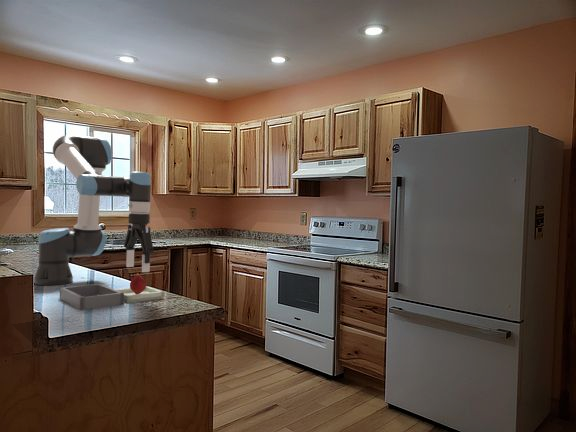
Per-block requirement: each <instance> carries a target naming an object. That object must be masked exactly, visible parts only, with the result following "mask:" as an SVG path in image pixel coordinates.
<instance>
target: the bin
mask: <svg viewBox="0 0 576 432" xmlns="http://www.w3.org/2000/svg"><path fill="white" fill-rule="evenodd" d="M59 299H60V300H61V301H64V302H66V303H67V304H68V305H70V306H72V307H74V308H75V309H78V310H79V311H85V310H92V309H100V308H107V307H114V306H121V304H123V305H124V304H125V302H124V293H123V292H120V291H117V289H115V288H112V287H110V286H107V285H105V284H101V283H92V284H84V285H74V286H63V287H59Z"/></svg>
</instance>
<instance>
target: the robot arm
mask: <svg viewBox="0 0 576 432" xmlns="http://www.w3.org/2000/svg"><path fill="white" fill-rule="evenodd" d="M112 150H113V149H112V147H111V145H110V143H109V141H108V140H107V139H105V138H102V137H97V136H87V135H79V134H65V135H62V136H60V137H59V138H58V139H56V140H55V142H54V144H53V146H52V153H53V157H54V158H55V159H56V161H57V162H58V163H60V164H61V165H64V166H65V167H66V169H67V170H68V171H69V172H70V173H71V175H72V176H73V177H74V178H75V180H76V182H75V183H76V185H75V187H76V191H77V192H78V194H79V195H78V208H77V209H78V211H77V223H76V224H74V225H73V229H72V230H70V228H69V227H62V228H59V227H58V228H51V229H45V230H42V231H41V232H40V233H39V235H38V265H37V266H38V267H37V268H36V271H35V273H34V277H33V284H34V283H35V284H34V285H38V286H56V285H57V286H59V285H64V284H65V285H66V284H70V283H72V282H73V281H74V280H73V279H74V276H73V273H72V271H71V267H70V265H69V264H70V261H69V258H81V257H89V258H90V257H93V256H94V257H95V256H99V255H101V254H102V253H103V251H104V250H105V247H106V242H107V240H106V239H107V238H106V233H105V231H103V230H102V226H101V225H99V217H100V205H101V204H100V202H101V196H103V197H122V198H124V197H125V198H126V197H127V198H128V197H129V198H128V205H127V206H128V212H129V214H128V223H129V224H128V225H127V226H128V227H127V231H126V237H125V240H124V244H123V247H124V248H125V250H126V265H125V267H126V268H130V267H131V268H132V267H133V268H134V267H135V250H136V248H135V246H136V243H137V241H138V240H139V243H140V246H141V249H142V254H141V273H150V272H151V271H150V269H151V255H152V254H153V253H155V252H154V246H153V241H152V240H153V239H152V236H151V235H152V234H151V227H150V226H146V225H148V224H150V220H151V219H150V214H149V213H151V193H152V192H151V191H152V190H151V189H152V182H151V181H152V179H151V176H152V175H151V173H150V172H145V171H131V172H130V174H129V177H128V176H125V177H124V176H113V175H111V176H110V175H102V174H103V171H105V170H106V168H107V166H108V165H110V163H112V159H113V152H112Z"/></svg>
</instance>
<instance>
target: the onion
mask: <svg viewBox="0 0 576 432" xmlns="http://www.w3.org/2000/svg"><path fill="white" fill-rule="evenodd" d="M146 286H147V281H146V280H145V279H144V277H142V276H141V274H139V273H136V275H135V276H134V277H133V278H132V279H131V281H130V283H129V288H131V290H132V291H133V292H134V293H135V294H140V293H141V292H143V291H144V290H145V288H146Z"/></svg>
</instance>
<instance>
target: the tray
mask: <svg viewBox="0 0 576 432" xmlns="http://www.w3.org/2000/svg"><path fill="white" fill-rule="evenodd" d="M116 290H117V291H120V292H123V293H124V303H126V304H130V303H138V302H139V303H140V302H146V301H147V302H148V301H153V300H154V301H155V300H162V299H164V297H165V295H164V294H165V292H164V291H162V290H160V289H156V288H154V287H150V286H147V285H146V288H145V290H144V291H143V292H141V293H140V294H135V293H134V292H133V291H132V290H131V288H130V287H129V288H118V289H116Z"/></svg>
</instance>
